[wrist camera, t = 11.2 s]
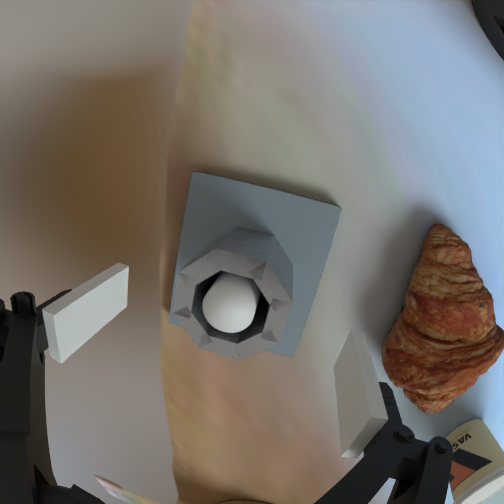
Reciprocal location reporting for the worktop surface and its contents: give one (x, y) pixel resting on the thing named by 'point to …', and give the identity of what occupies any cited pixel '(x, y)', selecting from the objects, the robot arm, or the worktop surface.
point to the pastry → (442, 326)
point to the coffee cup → (475, 463)
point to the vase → (243, 502)
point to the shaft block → (264, 220)
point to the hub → (244, 264)
